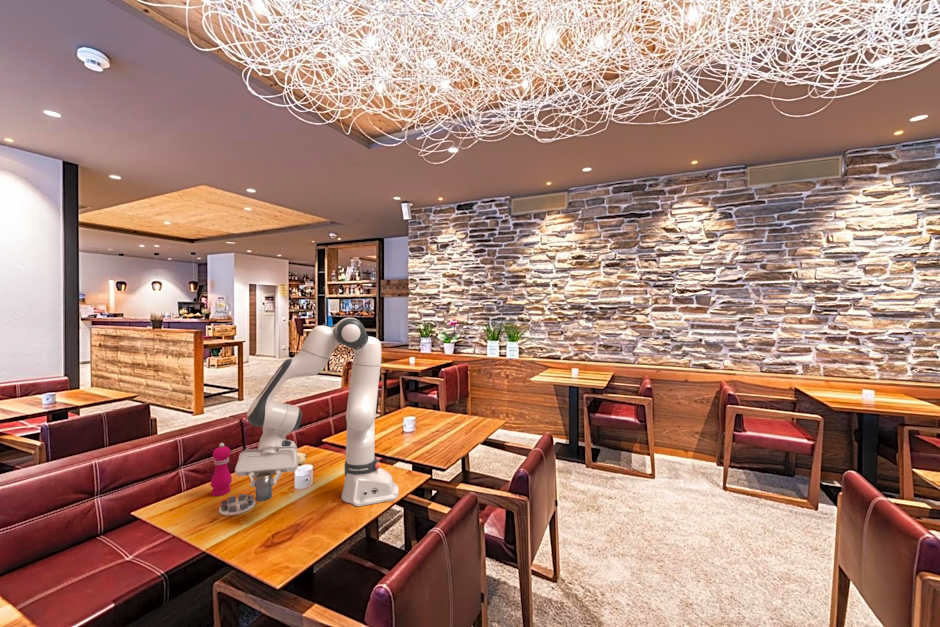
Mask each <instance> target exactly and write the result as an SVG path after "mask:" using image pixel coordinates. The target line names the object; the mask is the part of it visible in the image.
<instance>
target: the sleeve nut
mask: <svg viewBox="0 0 940 627" xmlns="http://www.w3.org/2000/svg"><path fill="white" fill-rule="evenodd" d="M272 477H273V474H272V473H270V472H265V473H260V474H258V475H256V479H255V480H256V487H255V502H259V503H261V502H266V501H269V500H270V499H272V498H273V485H271V479H272Z"/></svg>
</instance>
